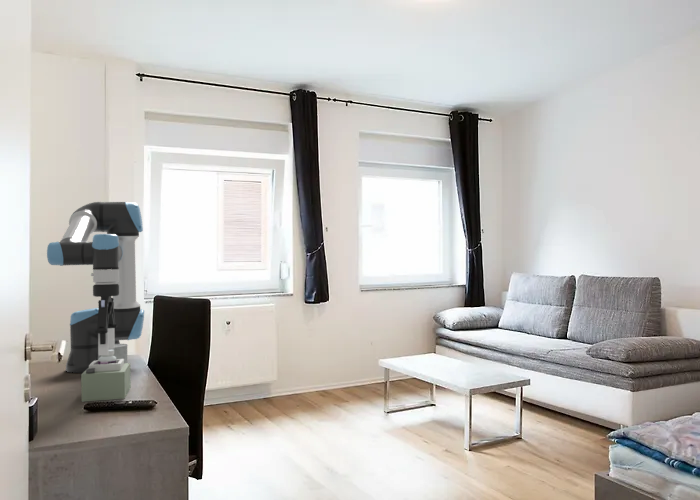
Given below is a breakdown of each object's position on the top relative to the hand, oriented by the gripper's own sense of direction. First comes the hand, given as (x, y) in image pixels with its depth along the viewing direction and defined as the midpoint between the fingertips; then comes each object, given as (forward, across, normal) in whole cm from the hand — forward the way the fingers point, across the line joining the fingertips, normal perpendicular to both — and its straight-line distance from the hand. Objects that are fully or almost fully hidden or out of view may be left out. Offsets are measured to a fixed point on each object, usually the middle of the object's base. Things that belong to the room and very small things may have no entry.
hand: (106, 351), depth 182 cm
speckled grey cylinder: (+13, -21, -1) cm, 25 cm away
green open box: (+13, 0, 0) cm, 13 cm away
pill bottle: (+9, 0, 0) cm, 9 cm away
